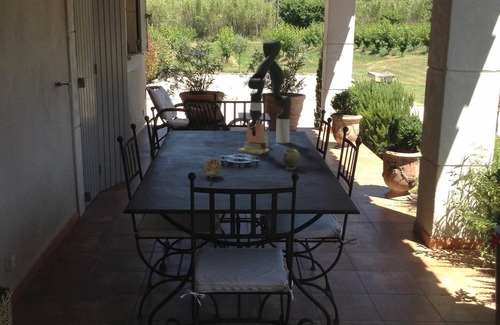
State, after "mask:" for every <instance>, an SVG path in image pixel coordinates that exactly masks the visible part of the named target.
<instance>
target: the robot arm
mask: <svg viewBox="0 0 500 325" xmlns="http://www.w3.org/2000/svg"><path fill="white" fill-rule="evenodd" d="M281 47H282V46H281V43H280V42H279V41H278V40H265V41H264V42H263V43H262V50H263V54H264V57H265V59H263V60H262V62H260V63H259V64H258V66H257V69H256V71H255V72H254V73H253V75H251V77H250V78H249V80H248V83H247V86H248V88H249V89H250V90H256V92H253V93H251V94H250V104H249V116H250V117H251V119H250V121H249V120H248V123H249V127H250V129H251V130H252V136H255V134H256V125H257V124H263V120H264V119H262V118H261V117H262V115H263V114H262V113H263V112H262V110H263V109H262V108H263V106H262V97H263V92H264V89H265V83H266V82H265V80H264V79H265V78H266V77H267V75H269V79H270V83H271V88H272V94H273V102H274V106H275V107H276V109H279V110H283V111H282V112H280V113H277V114H276V125H275V126H276V127H275V128H276V129H275V130H276V131H275V132H276V133H275V134H276V137H275V143H277V144H289V143H290V134H291V133H290V130H291V129H290V122H291V121H290V120H291V119H290V118H291V110H292V108H291V107H292V99H291V97H290V96H289V95H282V94H281V87H282V86H283V83H284V82H285V80H284V79H285V78H284V72H283V69H282V68H281V66H280V65H279V64H278V63H277V62H276V61H275V60H276V59H277V57H278V56H279V55H280V53H281V50H282V48H281ZM254 125H255V126H254ZM251 127H252V128H251Z"/></svg>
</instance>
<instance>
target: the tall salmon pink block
mask: <svg viewBox="0 0 500 325" xmlns="http://www.w3.org/2000/svg"><path fill="white" fill-rule="evenodd" d="M246 126H247V128H246V129H247V130H246V133H247V134H246V142H248V143H250V142H254V143H264V131H265V124H263V123H262V124H257V125H256V134H255V136H252V130H251V129H250V127H249V122H248V123H247V124H246ZM254 126H255V125H254ZM251 128H252V127H251Z"/></svg>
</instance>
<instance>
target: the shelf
mask: <svg viewBox="0 0 500 325" xmlns="http://www.w3.org/2000/svg"><path fill="white" fill-rule="evenodd" d="M243 144H244V147H241V148H238V149H237V152H238V153H239V152H240V153H245V152H246V154H253V155H261V154H264V153H268V152H270V151H271V149H270V148H268V147H266V143H254V142H247V141H245V142H244V143H243Z"/></svg>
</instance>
